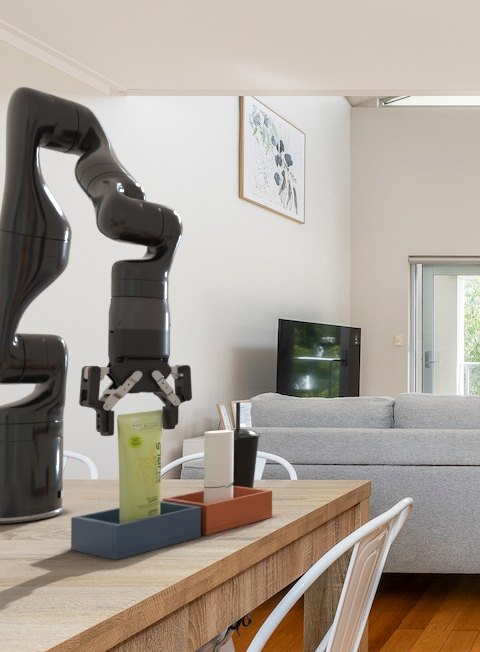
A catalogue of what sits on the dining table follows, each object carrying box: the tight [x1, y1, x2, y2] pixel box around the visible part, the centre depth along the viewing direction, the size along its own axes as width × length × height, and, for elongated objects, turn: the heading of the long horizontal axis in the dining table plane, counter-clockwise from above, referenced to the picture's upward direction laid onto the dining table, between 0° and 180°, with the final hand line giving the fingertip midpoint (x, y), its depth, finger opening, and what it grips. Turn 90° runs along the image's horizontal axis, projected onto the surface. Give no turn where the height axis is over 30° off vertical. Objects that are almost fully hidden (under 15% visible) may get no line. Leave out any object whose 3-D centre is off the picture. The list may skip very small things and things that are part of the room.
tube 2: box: [203, 429, 234, 504], centre depth 101 cm, size 4×4×15 cm
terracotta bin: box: [162, 486, 273, 536], centre depth 101 cm, size 12×12×5 cm
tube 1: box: [116, 409, 163, 524], centre depth 89 cm, size 6×5×20 cm
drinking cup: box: [230, 402, 261, 488], centre depth 113 cm, size 8×8×20 cm
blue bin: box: [70, 500, 202, 560], centre depth 89 cm, size 12×12×5 cm
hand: (139, 432), depth 89 cm, fingers open, 8 cm apart
